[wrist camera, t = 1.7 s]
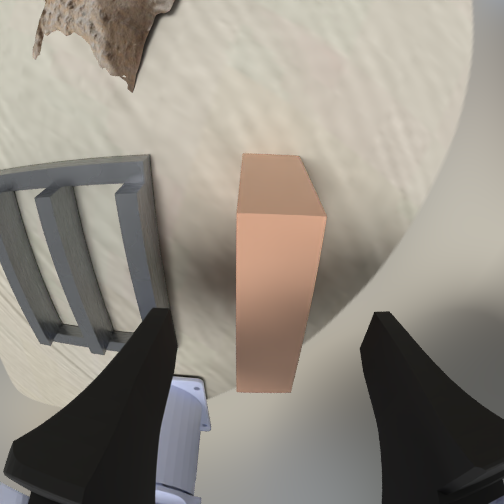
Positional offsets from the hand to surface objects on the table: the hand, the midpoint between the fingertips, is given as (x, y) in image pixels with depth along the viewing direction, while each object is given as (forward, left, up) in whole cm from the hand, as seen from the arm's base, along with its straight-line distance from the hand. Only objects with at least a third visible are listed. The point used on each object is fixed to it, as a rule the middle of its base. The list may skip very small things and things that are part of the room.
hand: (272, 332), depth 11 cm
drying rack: (-2, +11, -6) cm, 12 cm away
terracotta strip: (0, 0, -6) cm, 6 cm away
